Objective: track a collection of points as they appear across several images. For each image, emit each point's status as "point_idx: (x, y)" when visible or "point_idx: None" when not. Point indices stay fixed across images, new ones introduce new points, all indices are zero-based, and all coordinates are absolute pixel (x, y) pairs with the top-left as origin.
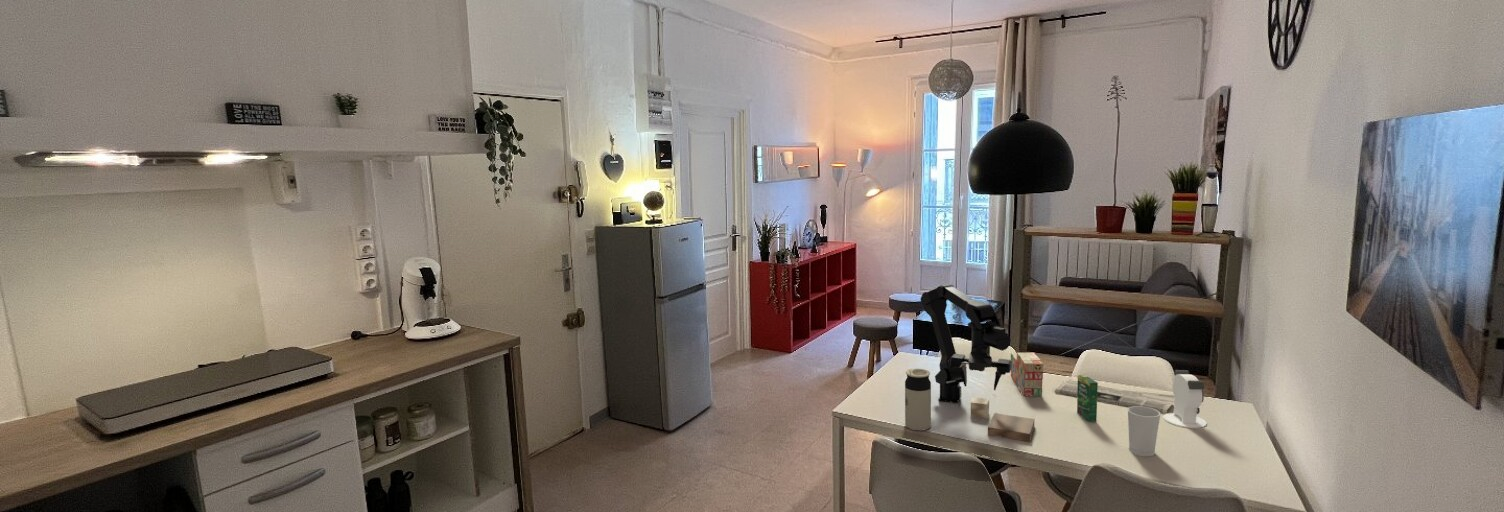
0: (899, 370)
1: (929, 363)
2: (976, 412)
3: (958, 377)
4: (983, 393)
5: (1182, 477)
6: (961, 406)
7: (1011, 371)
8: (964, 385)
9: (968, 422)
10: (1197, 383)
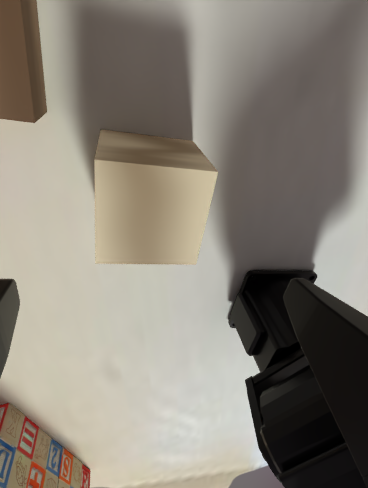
0: None
1: None
2: (163, 145)
3: (304, 385)
4: (150, 371)
5: None
6: (230, 249)
7: (87, 485)
8: (308, 282)
9: (205, 22)
10: None
